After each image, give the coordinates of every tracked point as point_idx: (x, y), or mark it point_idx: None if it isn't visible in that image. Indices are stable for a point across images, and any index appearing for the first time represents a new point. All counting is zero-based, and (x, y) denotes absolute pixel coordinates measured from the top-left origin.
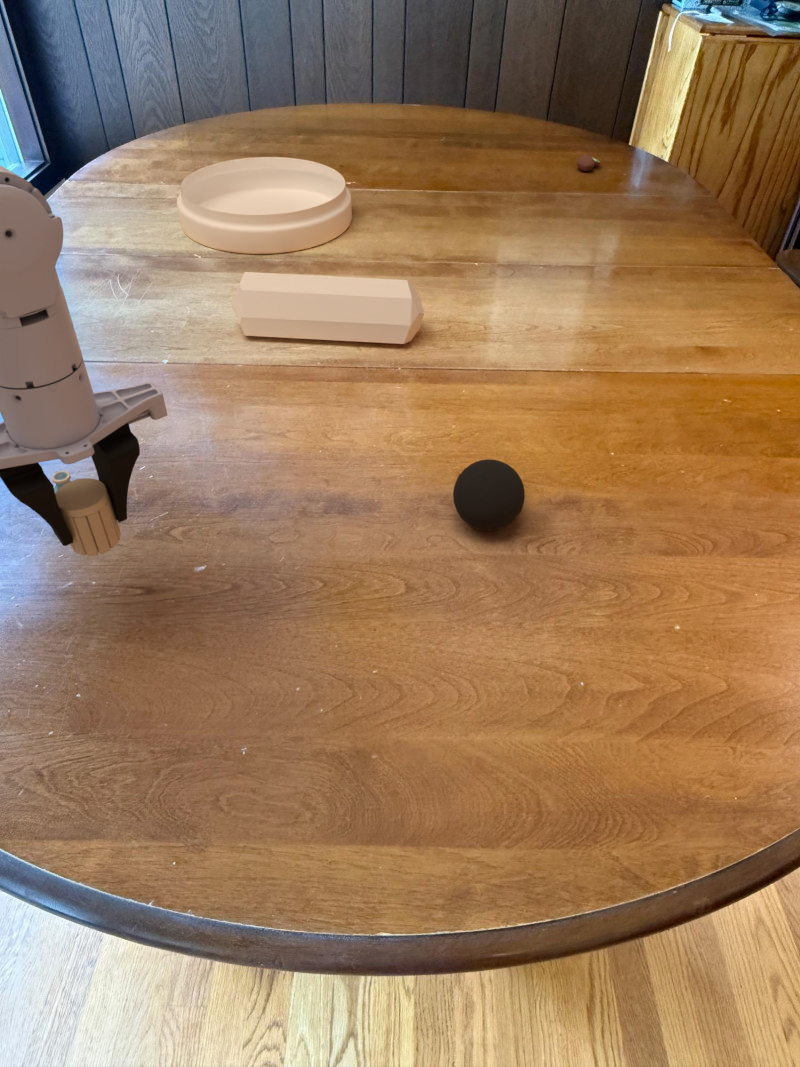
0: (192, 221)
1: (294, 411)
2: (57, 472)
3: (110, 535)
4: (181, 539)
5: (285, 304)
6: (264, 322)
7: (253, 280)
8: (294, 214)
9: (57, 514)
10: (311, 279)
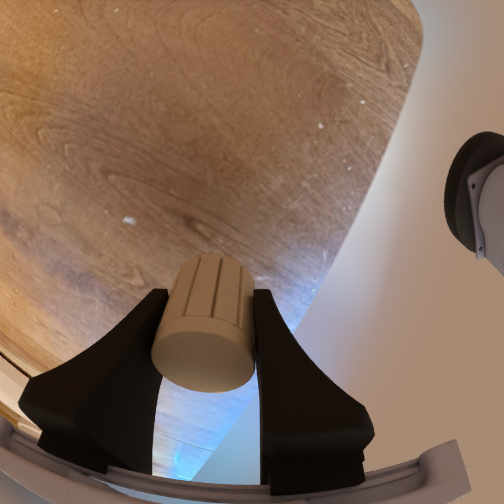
0: None
1: (33, 336)
2: (218, 392)
3: (189, 272)
4: (136, 269)
5: None
6: None
7: None
8: (38, 437)
9: (267, 343)
10: (13, 408)
